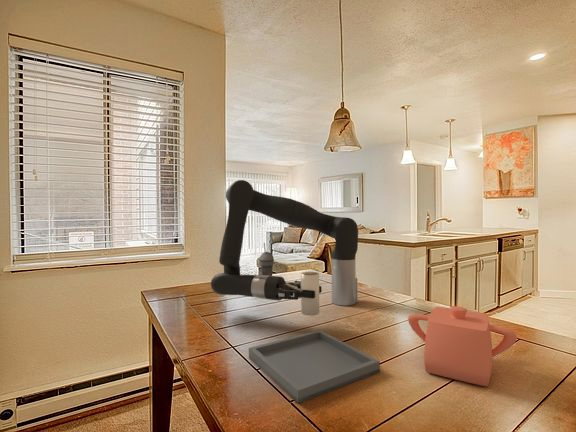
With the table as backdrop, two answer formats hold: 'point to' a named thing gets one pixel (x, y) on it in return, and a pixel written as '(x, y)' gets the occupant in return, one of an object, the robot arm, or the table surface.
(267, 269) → the beverage cup
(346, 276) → the robot arm
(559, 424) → the table surface
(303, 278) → the cream cup
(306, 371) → the charcoal tray
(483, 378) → the teapot
